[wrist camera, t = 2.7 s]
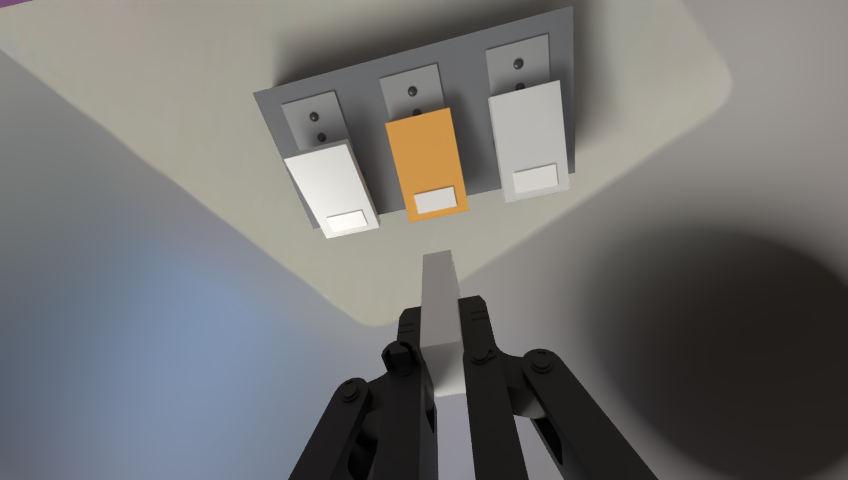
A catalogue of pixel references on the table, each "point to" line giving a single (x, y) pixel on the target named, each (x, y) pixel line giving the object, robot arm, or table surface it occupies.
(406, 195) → the plate
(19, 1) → the toy
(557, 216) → the table surface
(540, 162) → the rocker
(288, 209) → the table surface
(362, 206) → the rocker
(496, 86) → the power strip
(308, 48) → the table surface
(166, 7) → the table surface
